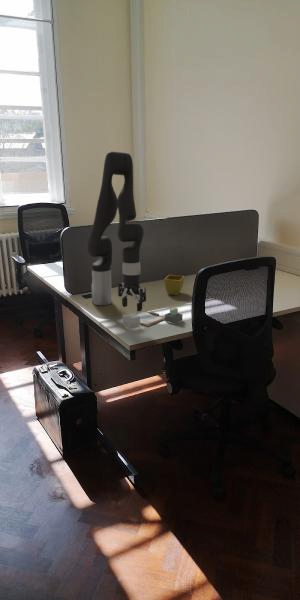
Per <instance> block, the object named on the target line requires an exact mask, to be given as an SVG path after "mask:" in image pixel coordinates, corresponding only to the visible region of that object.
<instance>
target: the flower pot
mask: <svg viewBox="0 0 300 600" xmlns="http://www.w3.org/2000/svg"><path fill="white" fill-rule="evenodd" d="M163 280H164V288H165V290H166V292H167V294H168V295H172V296H173V295H175V296H178V295H179V294H180V292H181V291H182V289H183V286H184V283H185V282H184V280H185V276H184V275H176V274H175V275H174V274H168V275H167V276H166V277H165V278H164V279H163Z"/></svg>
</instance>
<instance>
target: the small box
mask: <svg viewBox="0 0 300 600" xmlns="http://www.w3.org/2000/svg"><path fill="white" fill-rule="evenodd" d="M136 314H137V313H134V312H131V313H127V314H124V315H122V326H123V327H125V328H126V329H128V330H133V329H137V328H140V327H141V324H140V316H138V315H136Z"/></svg>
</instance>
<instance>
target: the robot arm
mask: <svg viewBox="0 0 300 600" xmlns="http://www.w3.org/2000/svg"><path fill="white" fill-rule="evenodd" d="M133 164H134V163H133V158H132V155H131V154H130V153H129V152H128V153H127V152H119V151H113V150H111V151H107V153H106V156H105V159H104V163H103V170H102V179H101V186H100V191H99V196H98V200H97V204H96V209H95V215H94V221H93V224H92V227H91V231H90V234H89V236H88V241H87V245H86V246H87V247H86V248H87V253H88V254H89V256H90V257H92V258H98V259H97V260H96V261H94V262H93V263H92V264H91V276H92V277H91V278H92V282H91V285H90V286H91V302H92V303H93V304H94V305H95V306H96V305H97V306H108V305H111V304H112V301H113V299H112V295H113V294H112V293H113V292H112V263H113V245H112V244H113V243H112V240H111V238H110V237H109V236H106V235H104V233H105V232H106V230H107V229H108V227H109V226H110V225H111V224H112V222H114V220H115V218H116V216H117V211H118V217H119V221H118V227H117V238H118V240H119V241H120V242H122V243H130V242H131V243H132V244H130V245H129V246H126V247H124V248H123V249H122V265H121V267H122V268H121V269H122V282H119V283H117V284H118V287H117V296H118V297H120V298H121V304H122V307H123V308H126V307H128V296H131V297H133V299H135V301H136V312H142V310H143V303H144V302H147V292H146V291H147V290H146V287H140V284H141V262H140V259H141V258H140V255H141V254H140V251H141V245H142V242H143V238H144V235H145V234H144V233H145V231H144V227H143V226H142V224H140V223H129V222H132V221H134V220H135V219H136V218H137V209H136V203H135V197H134V196H135V195H134V165H133ZM113 176H122V177H123V179H124V180H123V181H124V182H123V186H122V188H121V190H120V192H119V194H118V196H117V193H116V192H115V190H114V186H113ZM128 223H129V224H128ZM103 235H104V236H103Z"/></svg>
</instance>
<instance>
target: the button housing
mask: <svg viewBox="0 0 300 600" xmlns="http://www.w3.org/2000/svg"><path fill="white" fill-rule="evenodd" d="M164 317H165V320H164V322H167V323H169V324H170V323H171V324H177V323H179V322H182V321H183V313H180V312H178V316H175V317H173V316H170V312H168V313H165V314H164Z"/></svg>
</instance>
